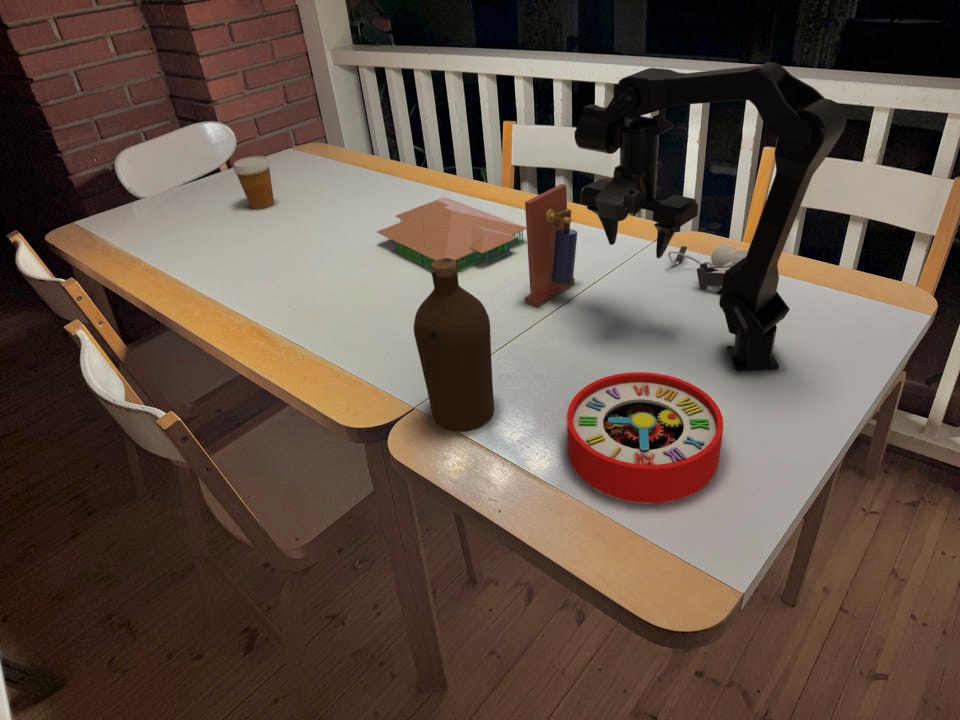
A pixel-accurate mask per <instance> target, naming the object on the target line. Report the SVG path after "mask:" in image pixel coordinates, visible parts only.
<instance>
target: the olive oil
mask: <svg viewBox="0 0 960 720" xmlns="http://www.w3.org/2000/svg"><path fill="white" fill-rule="evenodd" d="M455 261H456V260H455ZM455 261H454V260H453V259H449V258H442V259H438V260H436V261H435V260H433V261H432V262H431V263H432V267H431V268H432V269H431V271H432V273H431V276H432V284H433V290H432V291H431V292H430V293H429V295H428V296H427V297H426V298H425V299H424V300H423V301H422V302H421V303H420V305H419V306H418V308H417V310H416V313H415V316H414V322H413V334H414V335H413V336H414V339H415V345H416V348H417V352H418V357H419V361H420V365H421V369H422V373H423V378H424V382H425V386H426V387H425V388H426V391H427V396H428V400H429V405H430V406H429V407H430V411H431V415H432V420H433V421H434V423H435V424H436V425H437V426H438V427H439V428H441V429H443V430H445V431H449V432H456V433H465V432H470V431H474V430H478V429H479V428H481V427H483V426H485V425H486V424H487V423H488V422H490V420H491V419H492V417H494V413H495V400H494V398H495V397H494V384H493V365H492V363H493V362H492V342H491V341H492V339H491V338H492V337H491V335H492V334H491V322H490V321H491V320H490V316H489V314H488V312H487V310H486V308H485V305H484V304H483V303H482V302H481V300H479V299H478V298H477V297H476V296H474V295H473V294H472V293H470V292H468V291H467V290H466V289H464V288H463V287H461V286H460V284H459V274H458V272H457V271H458V270H456V269H457V262H456V263H455Z"/></svg>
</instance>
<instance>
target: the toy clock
mask: <svg viewBox="0 0 960 720" xmlns="http://www.w3.org/2000/svg"><path fill="white" fill-rule="evenodd" d="M571 399H572V400H571V401H570V403H569V405H568V408H567V412H566V428H567V429H566V432H567V433H566V435H567V457H568V459H569V462H570V466H571V467H572V468H573V470H574V472H575V474H576V475H577V476H578V477H579V478H580V480H582V481H583V482H585V484H587V485H588V486H590V487H591V488H592V489H594V490H596V491H597V492H599V493H601V494H603V495H606V496H608V497H611V498H614V499H615V500H621V501H624V502H629V503H634V504H635V503H636V504H643V505H644V504H645V505H646V504H665V503H671V502H674V501H679V500H681V499H685V498H688V497H689V496H692V495H693V494H696V493H698V492H699V491H701V490H702V489H704V488H705V487H706V486H707V485H708V484H709V483H710V482H711V481H712V479H713V478H714V476H715V475H716V472H717V471H718V466H719V464H720V463H719V462H720V457H721V456H720V455H721V449H722V441H723V433H724V418H723V414H722V412H721V409H720V408H719V406H718V404H717V403H716V401H715V400H714V399H713V398H712V397H711V396H710V395H709V394H708V393H707V392H705V391H704V390H702V389H701V388H700V387H698V386H697V385H694V384H693V383H691V382H688V381H686V380H684V379H681V378H678V377H675V376H671V375H667V374H661V373H657V372H645V371H644V372H643V371H635V372H633V371H632V372H621V373H616V374H613V375H612V374H611V375H608V376H604V377H602V378H599V379H596V380H595V381H592V382H591V383H589V384H586V385H585V386H584V387H583V388H582V389H580V390H579V391H578V392H577V393H576V394H575V395H574V397H573V398H571Z"/></svg>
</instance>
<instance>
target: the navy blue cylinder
mask: <svg viewBox="0 0 960 720" xmlns="http://www.w3.org/2000/svg"><path fill="white" fill-rule="evenodd" d="M563 216H565V217H569V218H571V219H572V210H571V209H570V208H567V210H563V211H559V212H556V213H555V218H554V226H555V227H558V226H559V225H560V217H563ZM577 241H578V231H577V230H576V229H573V228H571V223H570V224H568V223H565V225H564V229H558V230H556V238H555V251H554V263H553V275H552V282H553V283H556V284H560V285H569V284H572V283H573V280H574V279H575V277H574V273H575V262H576V251H577V243H578V242H577Z"/></svg>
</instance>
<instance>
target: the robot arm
mask: <svg viewBox="0 0 960 720" xmlns="http://www.w3.org/2000/svg"><path fill="white" fill-rule="evenodd" d="M740 101H741V102H742V101H749V102H750V103H751V104H752V105H753V106H755V109H756V110H757V112H758V115H759V116H760V118H761V120H762V122H763V123H764V125H765V127H766V128H767V129H768V130H769V131H770V132H771V133H772V134H773V135H774V136H775V137H776V141H775V146H774V147H775V148H774V154H773V155H774V163H775V175H774V178H773V180H772V183H771V185H770V188H769V192H768V194H767V197H766V199H765V203H764V205H763V208H762V211H761V214H760V216H759V219H758V221H757V225H756V228H755V230H754V233H753V236H752V239H751V242H750V245H749V247H748V250H747V251H748V252H747V255H746V257H744V258H742V259H741V260H740V261H739V262H737V263H736V264H735V265H733V266H732V267H731V268H729V269H728V270H727V271H726V272H725V274H724V277H723V284H722V286H720V289H719V290H718V291H717V292H716V295H718V296H720V297H719V300H718V305H719V308H721V310H722V312H723V313H724V316H725V321H726V325H727V330H728V333H730V334H731V335H735V336H734V341H733V342H734V343H733V345H727V346H726V347H725V351H726V353H727V355H728V357H729V359H730V362H731V364H732V366H733V368H734V370H735V371H736V372H751V371H768V370H770V371H771V370H779V368H780V365H779V362H778V361H777V359H776V357H775V355H774V353H773V352H774V347H775V341H776V335H777V329H778V326H777V325H778V324H779V323H780V322H781V321H783V320H784V319H785V317H786V316H787V315H788V313H789V312H790V307H789V306H788V305H787V303H786V302H785V301H784V299H783V298H782V296H781V295H780V294H779V292H778V291H777V290H778V285H779V279H780V275H779V274H780V273H779V266H778V264H779V261H780V258H781V256H782V253H783V250H784V248H785V246H786V243H787V241H788V239H789V236H790V233H791V231H792V228H793V225H794V223H795V220H796V218H797V215H798V213H799V211H800V208H801V205H802V203H803V201H804V198H805V196H806V193H807V190H808V188H809V185H810V184H811V181H812V178H813V176H814V174H815V173H816V171H817V170H818V169H819V167H820V166H821V164H823V162H824V161H825V159H827V157H828V156H829V155H830V153H831V151H832V150H833V148H834V147H835V145H837V144H836V143H837V142H838V141H839V139H840V137H841V136H842V134H843V133H844V131H845V129H846V125H847V115H846V114H845V111H844V109H843V107H842V106H841V105H840V104H839V103H838V102H836V101H834V100H832V99H830V98H826V97H824V96H823V95H822V93H820V92H819V91H818V89H816V88H815V87H813V86H811V85H809V84H808V83H806V82H804V81H802V80H800V79H799V78H798V77H795V76H794V75H793V74H791V73H790V72H789V71H788V70H787V69H786V68H785V67H783V66H782V65H781V64H779V63H777V62H772V61H771V62H770V61H768V62H766V63H763V64H760V65H749V66H741V67H733V68H732V67H731V68H723V69H714V70H705V71H695V72H686V73H685V72H678V71H675V70H672V69H667V68H657V67H648V68H646V69H643V70H641V71H638V72H635V73H633V74H630V75H628V76H627V75H626V76H624V77H622V78H621V79H620V80H618V83H617V84H616V86H615V90H614V96H613V98H612V99H611V100H610V102H609V104H608V105H607V106H606V107H604V106H599V105H597V104H592V103H591V104H588V105H585V106H583V108H582V115H581V117H580V118H579V119H578V122H577V124H576V127H575V130H574V141H575V144H576V146H577V147H578V148H579V149H582V150H587V151H591V152H598V153H604V154H609V155H613V154H615V153H616V152H618V150H619V165H616V166H615V167H614V170H613V176H612V179H611V180H609V179H605V178H598V179H597V180H595V181H593V182H591V183H589V184H587V185H585V186H584V187H583V188H582V189H581V191H580V204H581V205H582V206H586V209H587V210H588V211H590V212H593V213H594V214H595V215H596V216H597V217H598V218H599V221H600V223H601V225H602V227H603V230H604V233H605V235H606V238H607V241H608V244H609V245H610V246H613V245H615V244H616V241H617V236H618V231H619V230H618V229H619V222H623V221H624V220H626V219H627V218H628V216H629V214H632V215H637V214H638V213H639V212H640V211H641V210H645V211H649V212H655V219H656V220H657V222H656V223H654V225H653V226H654V228H655V229H656V231H657V233H656V236H657V237H656V247H655V254H656V255H655V256H656V259H660V258H662V257H663V255H664V253H665V252H666V250H667V248H668V246H669V244H670V242H671V240H672V238H673V237H674V235H675V233H676V232H677V230H678V229H679V228H681V227H683V226H684V225H686V224H687V223H688V222H691V221H692V220H693V219H695V218H696V217H698V215H699V203H698V202H697V199H696V198H692V197H688V196H682V195H678V194H674V195H672V196H671V197H669V198H667V199H665V200H663V199H659V198H657V196H658V195H660V194H661V189H662V187H661V186H657V181H658V180H657V179H658V171H659V170H660V169H662V168H663V161H661V160H659V158H658V157H659V140H660V135H662V134H665V133H666V132H668V131H670V130H672V129H673V128H674V124H673V123H672V122H671V121H670V120H669V119H668V118H666V116H665V114H664V113H663V112H660V113H658V114H656V115H654V116H652V117H650V116H645V115H648V114H649V115H650V114H652V113H655V112H658V111H660V110H664V109H667V108H670V107H674V106H685V105H697V104H700V105H701V104H713V103H714V104H715V103H726V102H740ZM628 118H629V119H628Z"/></svg>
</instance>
